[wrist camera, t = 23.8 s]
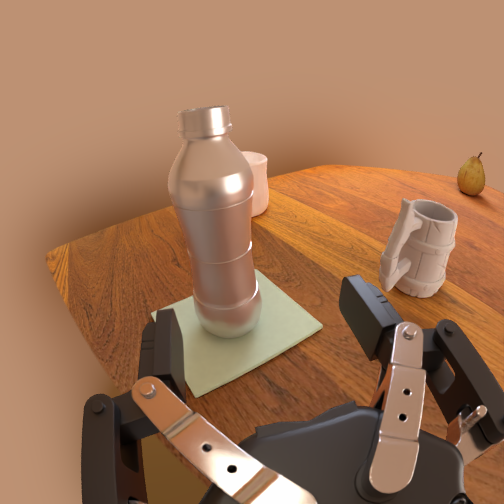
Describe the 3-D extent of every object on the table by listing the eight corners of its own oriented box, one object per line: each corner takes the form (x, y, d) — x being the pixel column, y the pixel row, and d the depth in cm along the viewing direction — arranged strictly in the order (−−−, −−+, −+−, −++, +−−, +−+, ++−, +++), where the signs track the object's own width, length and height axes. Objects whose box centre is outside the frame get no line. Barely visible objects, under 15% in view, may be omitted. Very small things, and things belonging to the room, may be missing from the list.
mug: (450, 285, 30) (477, 201, 24) (395, 323, 27) (426, 220, 20) (411, 257, 36) (428, 177, 30) (353, 284, 32) (366, 189, 26)
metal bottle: (219, 358, 24) (174, 116, 14) (188, 315, 29) (146, 116, 18) (276, 327, 27) (270, 104, 16) (240, 292, 32) (221, 104, 21)
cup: (227, 224, 48) (221, 168, 42) (211, 204, 55) (206, 156, 50) (278, 212, 50) (277, 159, 45) (256, 194, 58) (253, 149, 53)
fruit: (456, 193, 58) (463, 149, 51) (454, 184, 64) (460, 144, 57) (483, 202, 53) (492, 158, 47) (479, 192, 60) (486, 152, 53)
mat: (195, 398, 21) (194, 395, 21) (151, 316, 30) (150, 312, 30) (322, 328, 27) (322, 324, 27) (256, 271, 36) (256, 268, 36)
